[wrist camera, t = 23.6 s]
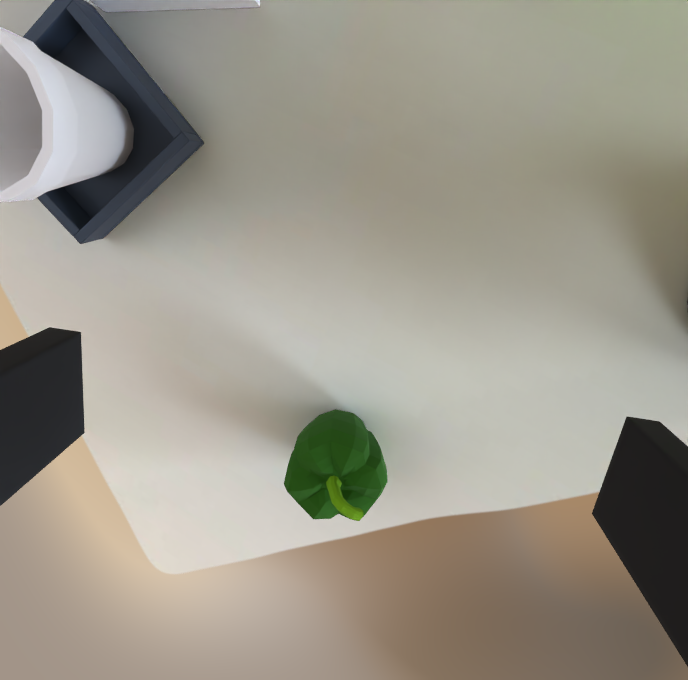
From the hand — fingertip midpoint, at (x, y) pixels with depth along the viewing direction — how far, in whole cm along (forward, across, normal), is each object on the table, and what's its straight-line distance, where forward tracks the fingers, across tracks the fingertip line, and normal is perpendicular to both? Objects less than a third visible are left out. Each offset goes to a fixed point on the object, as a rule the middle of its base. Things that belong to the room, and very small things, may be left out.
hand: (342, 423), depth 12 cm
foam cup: (+30, +23, -6) cm, 38 cm away
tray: (+30, +23, -6) cm, 38 cm away
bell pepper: (+31, 0, +18) cm, 36 cm away
